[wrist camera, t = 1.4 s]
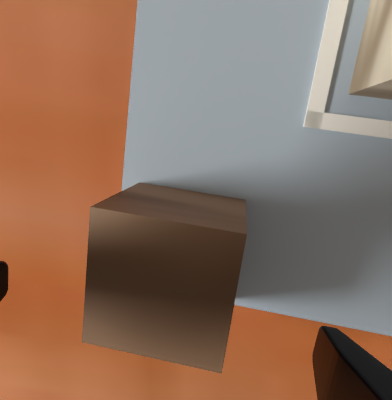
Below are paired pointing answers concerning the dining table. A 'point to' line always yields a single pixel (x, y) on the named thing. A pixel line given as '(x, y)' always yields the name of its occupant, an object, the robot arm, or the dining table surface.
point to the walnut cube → (164, 273)
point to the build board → (273, 145)
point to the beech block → (375, 54)
